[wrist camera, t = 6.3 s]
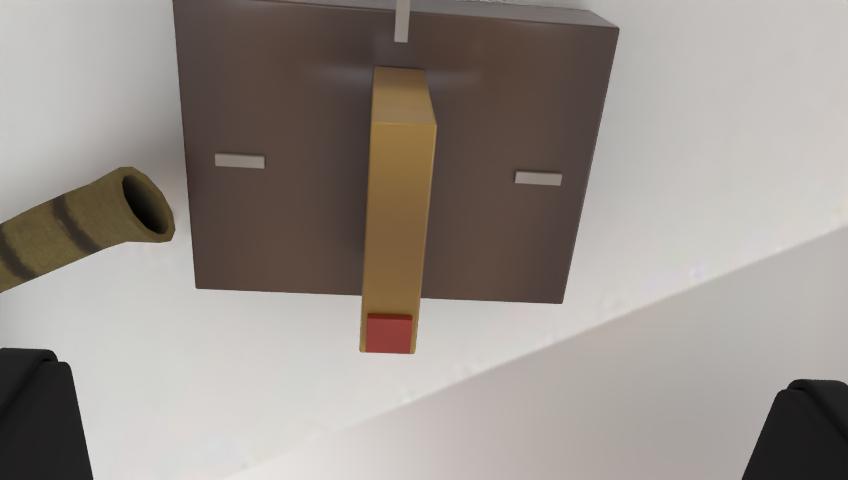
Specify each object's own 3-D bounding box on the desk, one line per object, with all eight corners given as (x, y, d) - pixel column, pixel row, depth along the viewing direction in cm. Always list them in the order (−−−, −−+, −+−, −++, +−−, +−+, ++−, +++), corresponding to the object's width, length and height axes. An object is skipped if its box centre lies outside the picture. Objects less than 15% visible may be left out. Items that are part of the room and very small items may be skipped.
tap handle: (373, 65, 19) (371, 123, 14) (424, 69, 19) (438, 127, 14) (364, 256, 21) (359, 359, 17) (408, 258, 21) (415, 360, 17)
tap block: (594, -10, 21) (627, 5, 18) (541, 274, 26) (560, 322, 23) (197, -44, 20) (167, -32, 17) (216, 260, 25) (195, 307, 22)
